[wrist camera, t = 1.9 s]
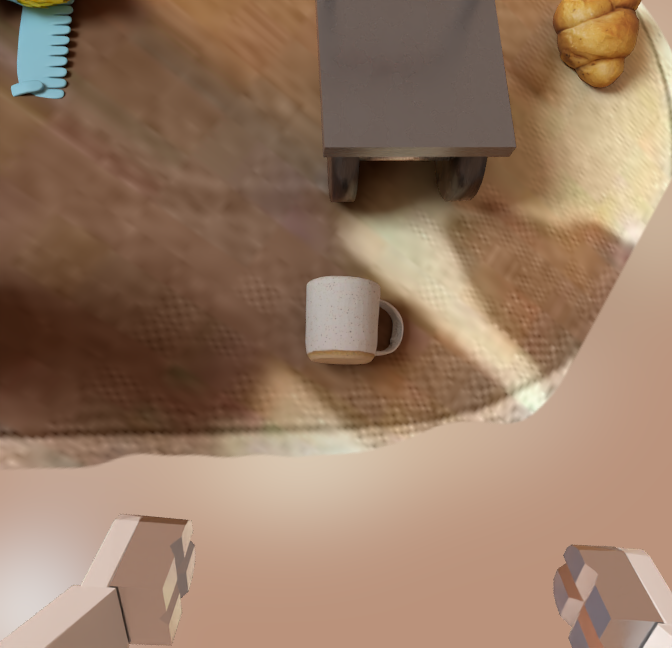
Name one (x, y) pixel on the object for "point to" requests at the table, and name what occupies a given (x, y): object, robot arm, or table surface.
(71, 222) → the table surface
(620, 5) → the bread roll
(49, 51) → the owl figurine
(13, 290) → the table surface
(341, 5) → the trolley
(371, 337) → the ceramic mug
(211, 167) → the table surface
